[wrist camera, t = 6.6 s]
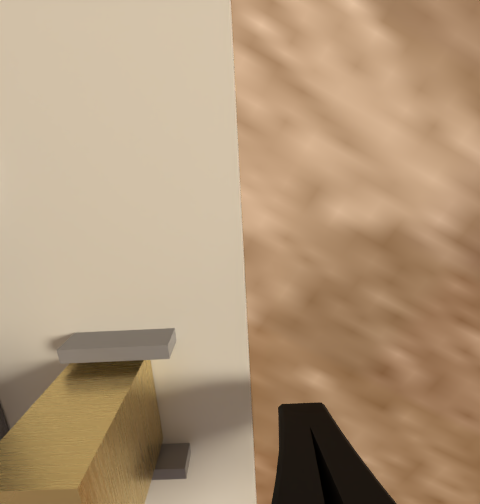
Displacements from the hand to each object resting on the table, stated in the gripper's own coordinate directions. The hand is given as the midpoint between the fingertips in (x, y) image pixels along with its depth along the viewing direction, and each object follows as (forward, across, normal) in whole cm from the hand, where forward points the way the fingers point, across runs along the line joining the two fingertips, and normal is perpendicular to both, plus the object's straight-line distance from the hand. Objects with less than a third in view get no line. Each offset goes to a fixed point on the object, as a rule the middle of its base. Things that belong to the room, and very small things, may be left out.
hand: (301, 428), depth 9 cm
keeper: (+2, +6, 0) cm, 7 cm away
